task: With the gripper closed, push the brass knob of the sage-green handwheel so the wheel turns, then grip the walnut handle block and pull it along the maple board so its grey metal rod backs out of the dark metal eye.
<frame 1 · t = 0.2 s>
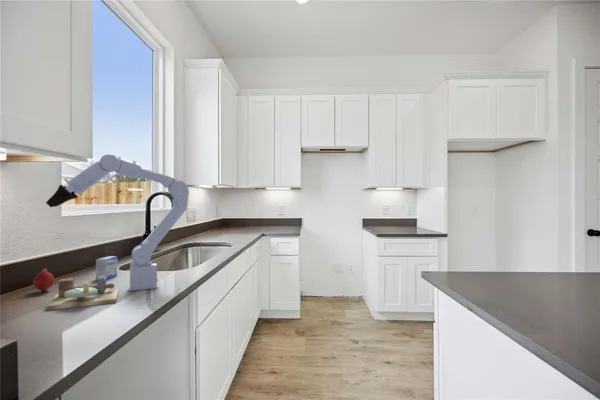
hand: (50, 204, 106), 31 cm above the countertop, tool tilted 45°, fingers open, 7 cm apart
handwheel: (80, 290, 100), point 4 cm above the countertop, hinge at 0.0°
onion: (43, 292, 112), on the countertop
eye: (101, 295, 108), resting on board
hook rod: (88, 285, 106), point 4 cm above the countertop, slide at 0.0 cm
board: (86, 299, 103), on the countertop
medicine box: (106, 278, 134), on the countertop
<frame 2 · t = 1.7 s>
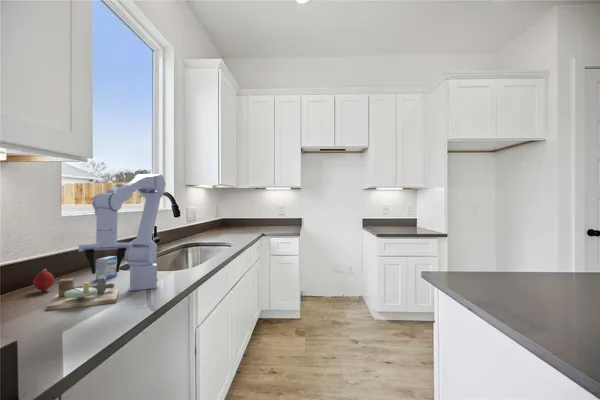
hand: (105, 272, 100), 10 cm above the countertop, tool pointing down, fingers open, 6 cm apart
nothing on the countertop moved.
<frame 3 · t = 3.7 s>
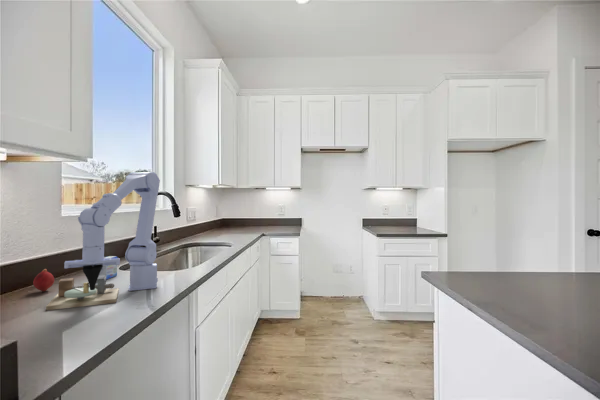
hand: (92, 289, 98), 5 cm above the countertop, tool pointing down, fingers closed, pressing on handwheel
handwheel: (80, 290, 100), point 4 cm above the countertop, hinge at 0.0°, touching gripper
everything else where it was.
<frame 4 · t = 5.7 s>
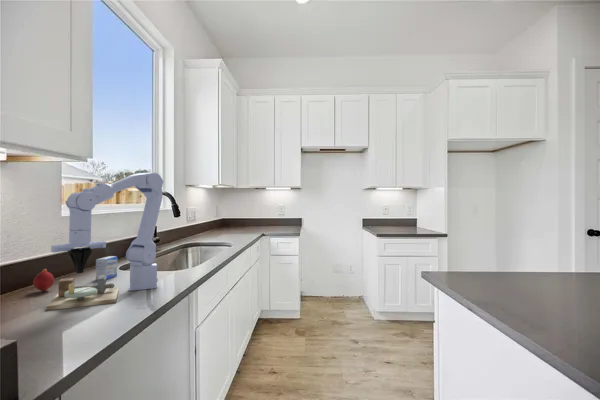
hand: (79, 272, 100), 10 cm above the countertop, tool pointing down, fingers closed
handwheel: (80, 290, 100), point 4 cm above the countertop, hinge at 65.2°
everything else where it was.
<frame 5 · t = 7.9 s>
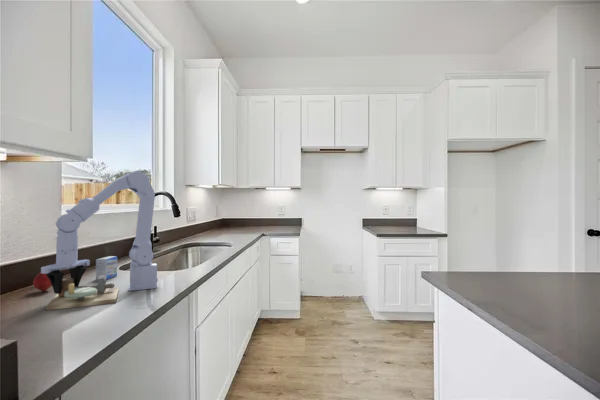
hand: (66, 291, 104), 3 cm above the countertop, tool pointing down, fingers closed on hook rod, 5 cm apart
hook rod: (88, 285, 106), point 4 cm above the countertop, slide at 0.0 cm, touching gripper
everything else where it was.
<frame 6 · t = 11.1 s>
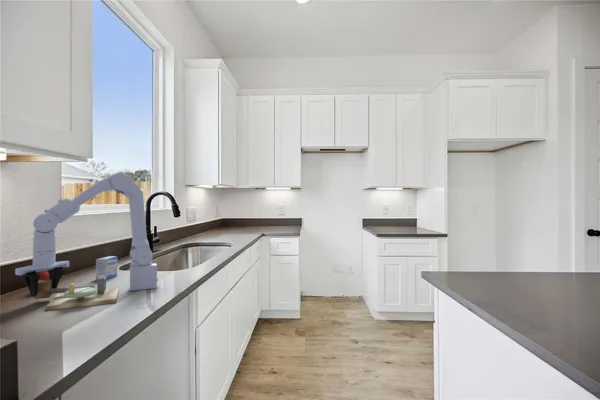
hand: (43, 293, 101), 3 cm above the countertop, tool pointing down, fingers closed on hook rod, 5 cm apart
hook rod: (66, 287, 104), point 4 cm above the countertop, slide at 5.9 cm, touching gripper
everything else where it was.
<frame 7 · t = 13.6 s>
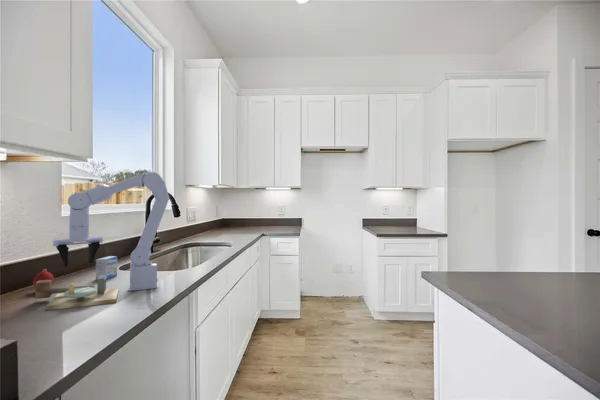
hand: (78, 264, 112), 10 cm above the countertop, tool pointing down, fingers open, 7 cm apart
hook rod: (66, 287, 104), point 4 cm above the countertop, slide at 5.9 cm
everything else where it was.
at the end: handwheel at +65° (first picture: +0°); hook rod slide at 5.9 cm; the gripper is holding nothing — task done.
